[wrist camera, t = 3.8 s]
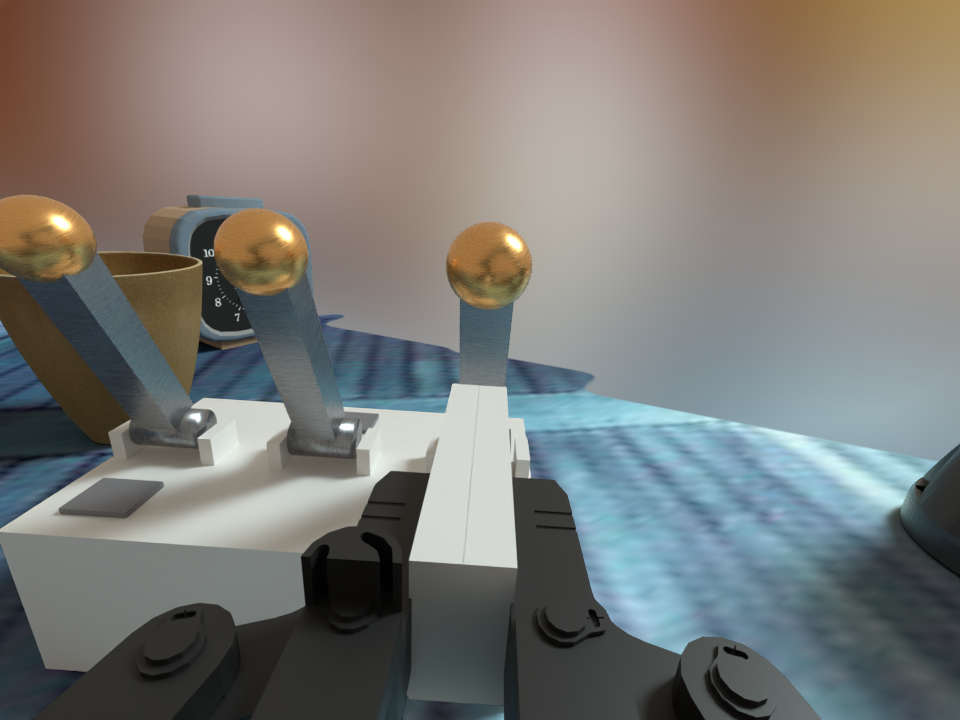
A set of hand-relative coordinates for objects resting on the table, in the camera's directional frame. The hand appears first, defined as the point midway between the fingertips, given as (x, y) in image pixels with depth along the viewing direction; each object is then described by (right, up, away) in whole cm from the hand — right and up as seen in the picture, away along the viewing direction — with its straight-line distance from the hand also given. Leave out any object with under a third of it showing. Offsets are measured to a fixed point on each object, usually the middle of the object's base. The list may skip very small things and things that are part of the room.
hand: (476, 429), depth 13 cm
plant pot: (-33, -5, +31) cm, 46 cm away
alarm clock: (-38, +6, +60) cm, 71 cm away
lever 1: (-17, -3, +13) cm, 21 cm away
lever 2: (0, -4, +13) cm, 13 cm away
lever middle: (-9, -3, +13) cm, 16 cm away
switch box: (-9, -11, +15) cm, 21 cm away
